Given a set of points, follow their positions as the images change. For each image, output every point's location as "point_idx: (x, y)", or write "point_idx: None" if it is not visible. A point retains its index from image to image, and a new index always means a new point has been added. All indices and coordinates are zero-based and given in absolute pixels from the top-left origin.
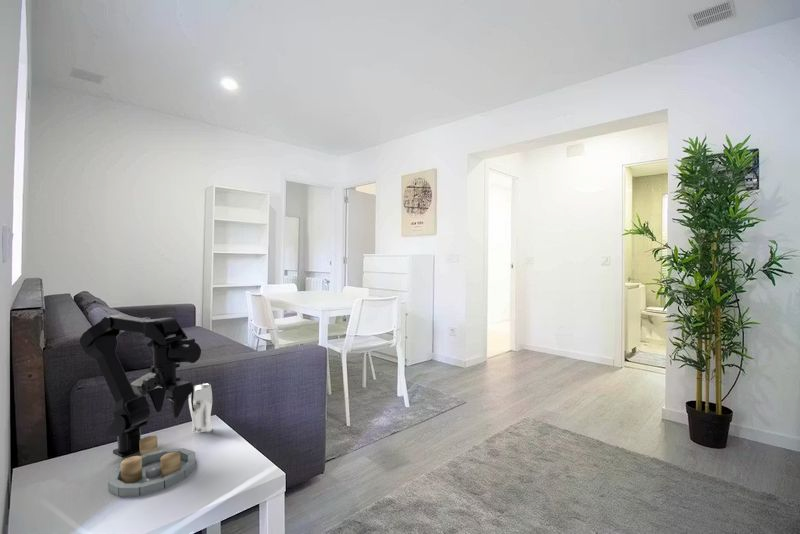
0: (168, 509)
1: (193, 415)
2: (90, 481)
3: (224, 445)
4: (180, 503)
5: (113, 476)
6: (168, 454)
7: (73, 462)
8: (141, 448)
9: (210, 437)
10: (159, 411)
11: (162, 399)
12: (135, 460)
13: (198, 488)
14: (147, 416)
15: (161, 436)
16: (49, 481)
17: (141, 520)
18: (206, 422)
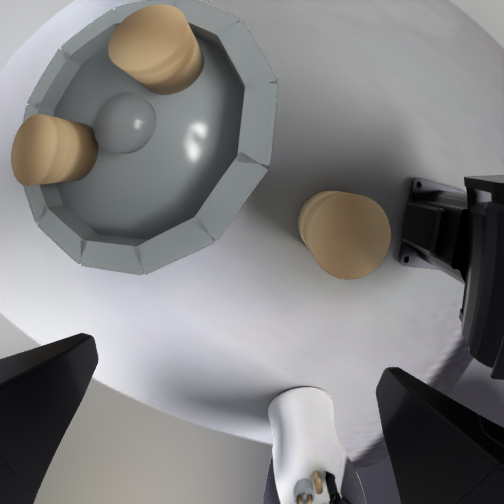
0: (11, 93)
1: (311, 444)
2: (338, 32)
3: (131, 365)
4: (5, 117)
5: (200, 12)
6: (43, 150)
7: (495, 119)
8: (341, 192)
9: (229, 394)
10: (380, 381)
11: (404, 478)
12: (124, 44)
13: (8, 169)
14: (467, 327)
15: (413, 337)
16: (440, 28)
17: (31, 48)
18: (273, 436)
